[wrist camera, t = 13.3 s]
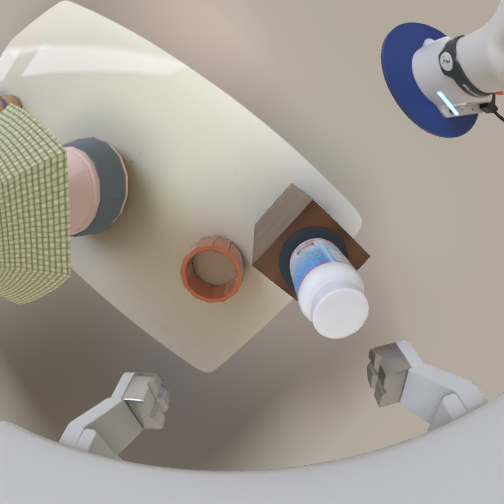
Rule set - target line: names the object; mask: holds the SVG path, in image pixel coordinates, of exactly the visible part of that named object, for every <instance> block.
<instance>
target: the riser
mask: <svg viewBox="0 0 504 504" xmlns="http://www.w3.org/2000/svg"><path fill="white" fill-rule="evenodd" d="M311 227H320V228H325V229H328V230H330V231H332V232H334V233H335V234H336V235H337V236H338V237H339V238H340V239H341V240H342V241H343V243H344V244H345V247H346V249H347V253H348V261H349V262H350V263H351V264H352V266H353V267H354V268H355V269H356V271H357V270H358V269H359V268H360V267H361V266H362V265H363V264H364V263H365V262H366V260H367V259H368V258H369V257H370V255H369V254H368V253H367V252H366V251H365V250H364V249H363V248H362V247H361V246H360V245H359V244H358V243H357V242H356V241H355V240H354V239H353V238H352V237H351V236H350V235H349V234H348V233H347V232H346V231H345V230H344V229H343V228H342V227H341V226H340V225H339V224H338V223H337V222H336V221H335V220H334V219H333V218H331V217H330V216H329V215H328V214H327V213H326V212H325V211H324V210H323V209H322V208H321V207H320V206H319V205H318V204H317V203H316V202H315V201H313V200H312V199H311V198H310V197H309V196H307V195H306V194H305V193H304V192H302V191H301V190H300V189H299V188H297V187H296V186H295V185H293V184H291V185H290V186H289V187H288V188H287V189H286V190H285V192H284V193H283V194H282V195H281V196H280V197H279V198H278V199H277V201H276V202H275V203H274V204H273V205H272V206H271V207H270V208H269V210H268V211H267V212H266V213H265V214H264V215H263V216H262V217H261V219H260V220H259V221H258V222H257V223H256V224H255V231H254V246H253V262H252V266H254V267H255V268H256V269H257V270H259V271H260V272H261V273H262V274H264V275H265V276H266V277H267V278H269V279H270V280H271V281H273V282H274V283H275V284H276V285H278V286H279V287H280V288H281V289H283V290H284V291H285V292H286V293H288V294H289V295H290V296H292V297H293V298H294V299H295V300H297V301H298V298H297V295H296V291H295V290H294V289H292V288H291V287H290V286H289V285H288V284H287V283H286V282H285V281H284V279H283V277H282V275H281V272H280V267H279V257H280V253H281V250H282V248H283V246H284V244H285V243H286V241H287V240H288V239H289V238H290V237H291V236H292V235H294V234H295V233H297V232H298V231H300V230H303V229H306V228H311Z"/></svg>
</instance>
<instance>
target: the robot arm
mask: <svg viewBox="0 0 504 504" xmlns="http://www.w3.org/2000/svg"><path fill="white" fill-rule="evenodd" d="M412 71H413V75H414V78H415V81H416V83H417V85H418V87H419V88H420V90H421V91H422V93H423V94H424V95H425V96H426V97H427V98H428V99H429V100H430V101H431V102H432V103H433V104H435V105H436V106H437V108H438V110H439V111H440V113H441V114H442V115H443V117H445V118H450V117H456V116H463V115H469V114H477V113H482V112H485V113H494V114H495V115H496V116H497V117H498V118H500V119H501V120H502V121H503V122H504V118H503V117H502V116H500V115H499V114H498V113H497V112H496V111H497V110H498V108H497V106H496V105H495V94H498V95H503V94H504V93H503V91H504V0H500V4H499V6H498V8H497V10H496V12H495V14H494V15H493V17H492V18H491V19H490V21H489V22H488V23H487V24H486V25H484V26H483V27H481V28H480V29H478V30H476V31H474V32H472V33H470V34H468V35H466V36H465V35H461V36H456V37H454V38H449V37H443V38H441V39H438V40H435V41H434V40H432V39H426V40H425V41H424V43H423V46H422V47H421V48H420V49H418V50H417V51H416V52H415V54H414V55H413V58H412ZM494 92H495V93H494ZM449 111H450V112H449ZM369 358H370V361H371V362H370V363H369V364H368V366H367V375H368V381H369V384H370V386H371V387H372V388H373V389H375V393H374V396H375V398H376V401H377V403H378V405H379V407H382V406H386V405H390V404H394V403H397V402H399V403H400V404H402V405H403V406H405V407H406V408H408V409H409V410H410V411H412V412H413V413H415V414H416V415H418V416H419V417H421V418H422V419H423V420H425V421H426V422H428V423H430V426H429V428H428V430H427V432H426V433H424V434H422V435H419V436H416V437H414V438H411V439H408V440H406V441H403V442H400V443H397V444H394V445H391V446H388V447H385V448H382V449H378V450H375V451H371V452H367V453H364V454H360V455H356V456H352V457H348V458H343V459H339V460H334V461H329V462H323V463H318V464H311V465H305V466H298V467H290V468H281V469H269V470H253V471H201V470H185V469H174V468H165V467H157V466H150V465H143V464H137V463H132V462H127V461H123V460H122V459H121V458H120V457H119V456H118V454H119V453H120V452H121V451H122V450H123V449H124V448H125V447H126V446H127V445H128V444H129V443H130V442H131V441H132V440H133V439H134V438H135V437H136V436H137V435H138V434H139V433H140V432H141V431H142V430H143V429H144V428H150V429H162V428H163V425H164V421H165V418H166V417H165V415H164V412H165V411H167V410H168V409H169V405H170V395H169V392H168V390H167V388H166V387H165V386H163V385H162V381H163V380H162V378H161V376H160V374H157V373H131V372H126V373H124V374H123V376H122V378H121V379H120V382H119V383H118V385H117V387H116V389H115V391H114V393H113V395H112V396H111V398H107V399H105V400H104V401H102V402H101V403H100V404H98V405H97V406H95V407H93V408H92V409H90V410H89V411H87V412H86V413H84V414H83V415H81V416H79V417H78V418H77V419H75V420H73V421H72V422H70V423H69V425H68V426H67V428H66V430H65V432H64V434H63V435H62V437H61V439H60V441H59V442H55V441H52V440H49V439H47V438H44V437H42V436H39V435H37V434H34V433H32V432H29V431H27V430H25V429H23V428H21V427H19V426H16V425H14V424H12V423H11V422H8V421H2V422H0V504H504V392H503V393H502V394H500V395H499V396H497V397H496V398H494V399H492V400H491V401H489V402H487V400H486V399H485V397H484V396H483V395H482V393H481V392H480V390H479V389H478V388H477V386H476V385H475V383H474V382H472V381H470V380H467V379H465V378H462V377H460V376H457V375H455V374H452V373H450V372H448V371H445V370H443V369H441V368H438V367H436V366H433V365H430V364H429V363H425V364H424V363H423V362H422V360H421V359H420V357H419V356H418V354H417V353H416V351H415V350H414V349H413V347H412V346H411V344H410V343H409V342H408V340H406V339H404V340H400V341H397V342H394V343H390V344H386V345H383V346H379V347H375V348H371V349H370V351H369Z"/></svg>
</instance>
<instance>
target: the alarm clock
mask: <svg viewBox="0 0 504 504" xmlns="http://www.w3.org/2000/svg"><path fill="white" fill-rule="evenodd" d="M9 103H12V104H14V105H16V106H18V107H20V108H22V107H21V103H20V102H19V100H18V98H16V97H15V96H10V95H4V96H1V97H0V113H1V112H2V111H3V110H4V109H5V107H6V106H7V105H8V104H9Z"/></svg>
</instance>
